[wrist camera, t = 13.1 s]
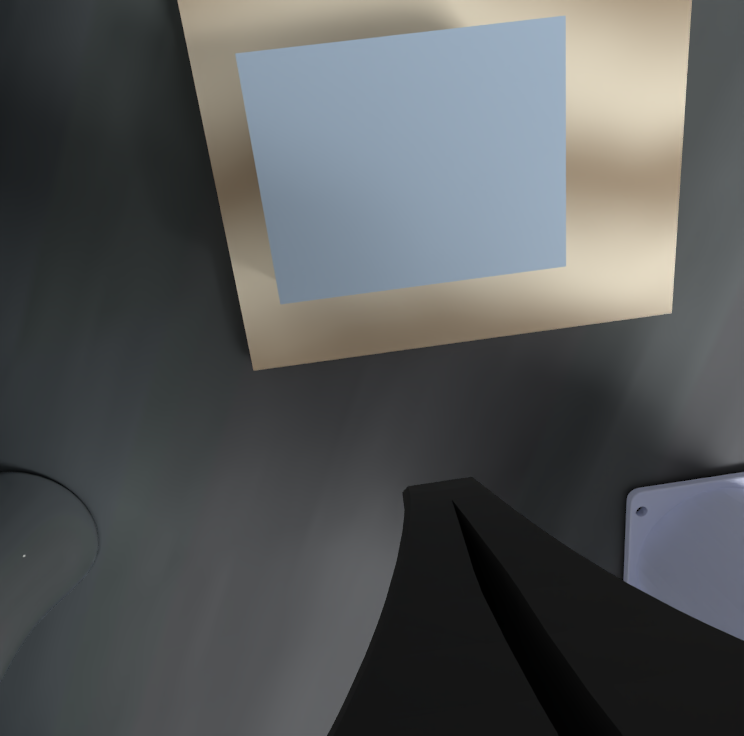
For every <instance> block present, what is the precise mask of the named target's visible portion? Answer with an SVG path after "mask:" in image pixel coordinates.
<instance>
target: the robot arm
mask: <svg viewBox="0 0 744 736" xmlns="http://www.w3.org/2000/svg"><path fill="white" fill-rule="evenodd" d="M403 501H404V509H405V513H404V523H403V532H402V537H401V542H400V547H399V553H398V558H397V562H396V566H395V569H394V573H393V576H392V580H391V584H390V587H389V591H388V594H387V598H386V601H385V604H384V607H383V610H382V613H381V616H380V619H379V621H378V624H377V627H376V630H375V632H374V635H373V637H372V640H371V642H370V645H369V647H368V650H367V652H366V655H365V657H364V659H363V662H362V664H361V666H360V668H359V671H358V673H357V675H356V677H355V680H354V682H353V684H352V686H351V688H350V691H349V693H348V695H347V697H346V699H345V701H344V703H343V706H342V708H341V710H340V712H339V714H338V716H337V718H336V720H335V722H334V724H333V726H332V728H331V730H330V731H329V733H328V735H327V736H744V472H740V473H734V474H727V475H720V476H714V477H707V478H700V479H694V480H687V481H680V482H674V483H667V484H660V485H654V486H647V487H640V488H636V489H633V490H632V491H631V492H630V493H629V494H628V496H627V505H626V529H625V554H624V578H623V580H621V579H619V578H618V577H616V576H614V575H612V574H611V573H609V572H607V571H605V570H604V569H602V568H601V567H599V566H597V565H596V564H594V563H592V562H591V561H589V560H588V559H586V558H584V557H583V556H581V555H580V554H578V553H576V552H575V551H573V550H572V549H570V548H568V547H567V546H565V545H564V544H562V543H561V542H559V541H558V540H556V539H555V538H553V537H552V536H550V535H549V534H548V533H546V532H545V531H543V530H542V529H540V528H539V527H537V526H536V525H535V524H533V523H532V522H530V521H529V520H528V519H526V518H525V517H524V516H522V515H521V514H519V513H518V512H517V511H515V510H514V509H513V508H511V507H510V506H509V505H508V504H506V503H505V502H504V501H502V500H501V499H500V498H498V497H497V496H496V495H494V494H493V493H492V492H491V491H489V490H488V489H487V488H485V487H484V486H483V485H482V484H480V483H479V482H478V481H476V480H475V479H474V478H472V477H468V478H461V479H455V480H448V481H441V482H434V483H427V484H421V485H414V486H408V487H407V488H406V489H405V490H404V492H403ZM639 507H642V508H641V509H640V510H639V511H637V509H638V508H639ZM636 511H637V512H636Z"/></svg>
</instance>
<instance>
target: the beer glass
mask: <svg viewBox="0 0 744 736" xmlns="http://www.w3.org/2000/svg"><path fill="white" fill-rule="evenodd" d="M98 544H99V540H98V532H97V528H96V525H95V522H94V520H93V518H92V516H91V514H90V513H89V511H88V510H87V508H86V507H85V506H84V504H83V503H82V502H81V501H80V500H79V499H78V498H77V497H76V496H75V495H74V494H72V493H71V492H70V491H69V490H67V489H66V488H64V487H63V486H61V485H59V484H57V483H55V482H53V481H51V480H49V479H46V478H44V477H41V476H38V475H34V474H29V473H23V472H0V684H1V682H2V680H3V678H4V676H5V675H6V673H7V671H8V669H9V667H10V665H11V664H12V662H13V660H14V658H15V656H16V654H17V653H18V651H19V650H20V648H21V647H22V645H23V644H24V642H25V641H26V639H27V638H28V636H29V635H30V633H31V632H32V631H33V629H34V628H35V627H36V626H37V625H38V623H39V622H40V621H41V620H42V619H43V618H44V617H45V616H46V614H47V613H48V612H49V611H50V610H51V609H52V608H54V607H55V606H56V605H57V604H58V603H59V602H60V601H61V600H62V599H63V598H64V597H66V596H67V595H68V594H69V593H70V592H71V591H72V590H73V589H74V588H75V587H76V586H77V585H78V584H79V583H80V582H81V581H82V580H83V579H84V578H85V577H86V575H87V574H88V573H89V571H90V570H91V568H92V566H93V564H94V562H95V559H96V556H97V552H98Z"/></svg>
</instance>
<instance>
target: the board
mask: <svg viewBox="0 0 744 736" xmlns="http://www.w3.org/2000/svg"><path fill="white" fill-rule="evenodd" d="M177 1H178V5H179V10H180V15H181V20H182V25H183V30H184V35H185V40H186V44H187V49H188V54H189V59H190V64H191V69H192V74H193V78H194V83H195V88H196V93H197V98H198V103H199V108H200V112H201V117H202V122H203V127H204V132H205V137H206V142H207V146H208V151H209V156H210V161H211V166H212V171H213V176H214V181H215V185H216V190H217V195H218V200H219V205H220V210H221V215H222V219H223V224H224V229H225V234H226V239H227V244H228V249H229V253H230V258H231V263H232V268H233V273H234V278H235V283H236V288H237V292H238V297H239V302H240V307H241V312H242V317H243V322H244V326H245V331H246V336H247V341H248V346H249V351H250V356H251V360H252V365H253V370H254V371H255V370H262V369H269V368H277V367H284V366H291V365H298V364H306V363H313V362H320V361H327V360H335V359H342V358H349V357H356V356H364V355H371V354H378V353H385V352H393V351H400V350H407V349H415V348H422V347H429V346H436V345H444V344H451V343H458V342H465V341H473V340H480V339H487V338H494V337H502V336H509V335H516V334H524V333H531V332H538V331H545V330H553V329H560V328H567V327H574V326H582V325H589V324H596V323H603V322H611V321H618V320H625V319H632V318H640V317H647V316H654V315H662V314H669V313H672V300H673V284H674V269H675V253H676V238H677V222H678V207H679V191H680V175H681V160H682V144H683V129H684V113H685V98H686V82H687V67H688V51H689V36H690V20H691V5H692V0H177ZM557 16H566V266H565V267H558V268H550V269H543V270H535V271H528V272H520V273H513V274H505V275H498V276H490V277H483V278H475V279H468V280H460V281H453V282H445V283H438V284H430V285H423V286H415V287H408V288H400V289H393V290H385V291H378V292H370V293H363V294H355V295H348V296H340V297H333V298H325V299H318V300H310V301H303V302H295V303H288V304H280V299H279V294H278V288H277V283H276V277H275V272H274V266H273V261H272V255H271V249H270V244H269V238H268V233H267V227H266V222H265V216H264V211H263V205H262V200H261V194H260V189H259V183H258V177H257V172H256V166H255V161H254V155H253V150H252V144H251V139H250V133H249V128H248V122H247V116H246V111H245V105H244V100H243V94H242V89H241V83H240V78H239V72H238V67H237V61H236V55H235V53H244V52H253V51H261V50H270V49H279V48H287V47H296V46H305V45H314V44H322V43H331V42H340V41H348V40H357V39H366V38H374V37H383V36H392V35H401V34H409V33H418V32H427V31H435V30H444V29H453V28H462V27H470V26H479V25H488V24H496V23H505V22H514V21H523V20H531V19H540V18H549V17H557Z"/></svg>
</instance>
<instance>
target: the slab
mask: <svg viewBox="0 0 744 736" xmlns="http://www.w3.org/2000/svg"><path fill="white" fill-rule="evenodd" d="M235 55H236V61H237V67H238V72H239V78H240V83H241V89H242V94H243V100H244V105H245V111H246V116H247V122H248V128H249V133H250V139H251V144H252V150H253V155H254V161H255V166H256V172H257V177H258V183H259V189H260V194H261V200H262V205H263V211H264V216H265V222H266V227H267V233H268V238H269V244H270V249H271V255H272V261H273V266H274V272H275V277H276V283H277V288H278V294H279V299H280V304H288V303H295V302H303V301H310V300H318V299H325V298H333V297H340V296H348V295H355V294H363V293H370V292H378V291H385V290H393V289H400V288H408V287H415V286H423V285H430V284H438V283H445V282H453V281H460V280H468V279H475V278H483V277H490V276H498V275H505V274H513V273H520V272H528V271H535V270H543V269H550V268H558V267H565V266H566V16H557V17H549V18H540V19H531V20H523V21H514V22H505V23H496V24H488V25H479V26H470V27H462V28H453V29H444V30H435V31H427V32H418V33H409V34H401V35H392V36H383V37H374V38H366V39H357V40H348V41H340V42H331V43H322V44H314V45H305V46H296V47H287V48H279V49H270V50H261V51H253V52H244V53H235Z"/></svg>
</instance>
